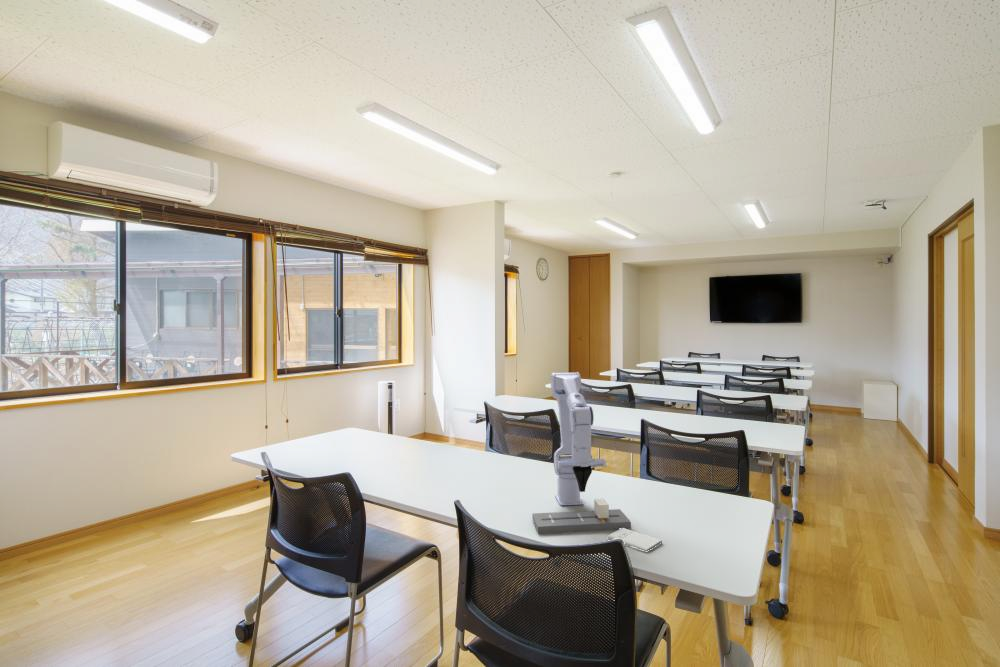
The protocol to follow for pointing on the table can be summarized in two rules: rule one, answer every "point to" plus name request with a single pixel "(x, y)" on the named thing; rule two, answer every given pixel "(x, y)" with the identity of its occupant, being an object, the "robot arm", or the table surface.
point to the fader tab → (601, 508)
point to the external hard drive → (635, 539)
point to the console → (579, 521)
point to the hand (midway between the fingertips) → (581, 490)
